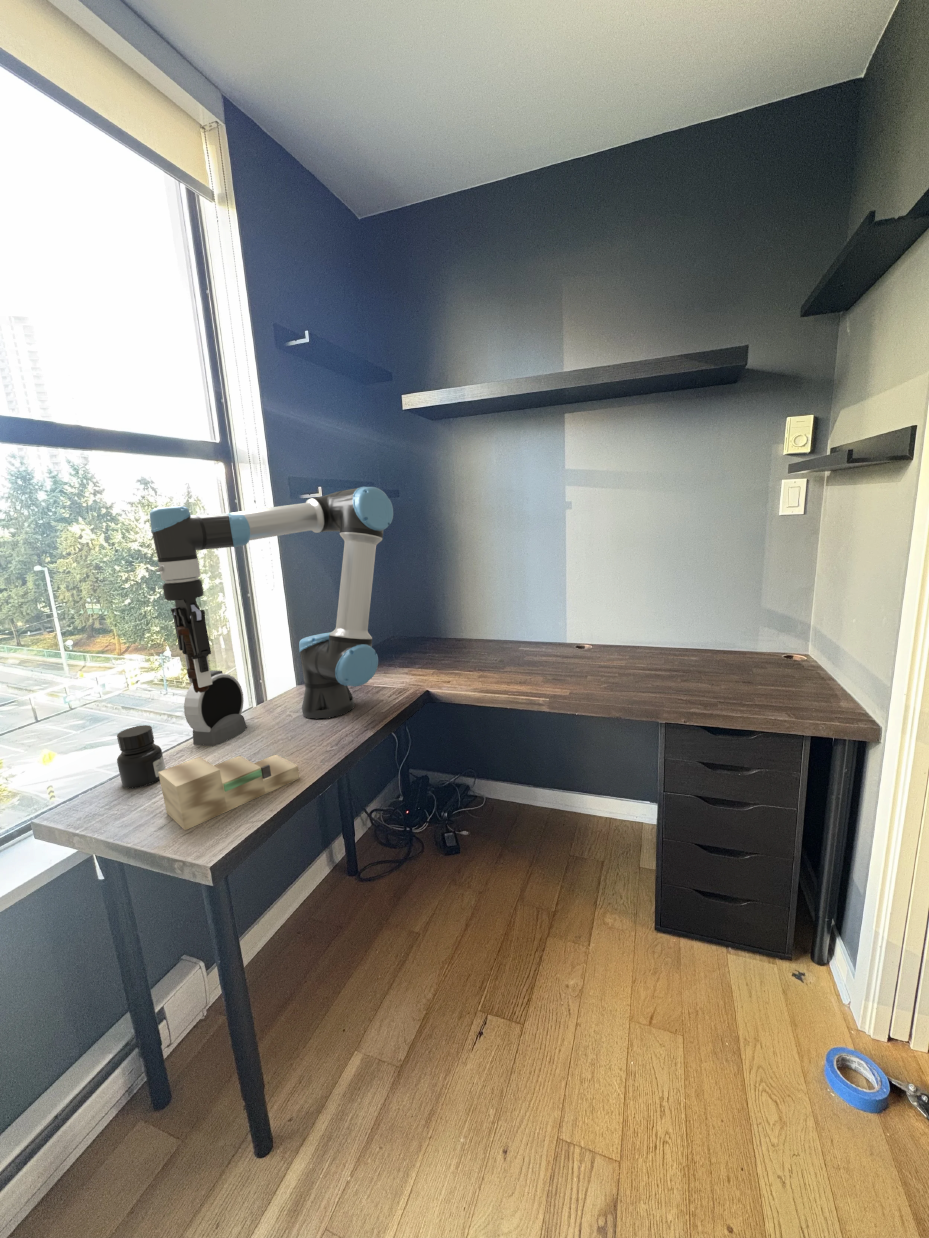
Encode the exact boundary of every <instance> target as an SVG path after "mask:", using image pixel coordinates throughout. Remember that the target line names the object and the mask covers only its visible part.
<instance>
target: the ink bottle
mask: <svg viewBox="0 0 929 1238" xmlns="http://www.w3.org/2000/svg"><path fill="white" fill-rule="evenodd" d="M116 737H117V744H118V747H119V751H120V753H119V755H118V757H117V759H116V762H117V763H116V764H117V767H118V772H119V773H118V774H119V775H120V776H119V777H120V782H121V785H122V786H123V787H124V788H125V789H137V788H142V787H145V786H149V785H152V784H154V783H156V782H158V781H159V782H160V778H159V774H158V772H160V771H162V770H165V769H166V764H165V759H164V755H163V751H162V747H160V745H157V744H156V743H155V736H154V732H153V727H152V725H144V724H143V725H137V726H133V727H129V728H127V729H123V730H121V731H120V732H119V733H117V734H116Z"/></svg>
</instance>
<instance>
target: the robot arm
mask: <svg viewBox="0 0 929 1238" xmlns="http://www.w3.org/2000/svg"><path fill="white" fill-rule="evenodd" d="M393 518H394V507H393V503H392V501H391V499H390V498H389V497H388V495H387V494H386V493H385V492H384V491H383V490H382V489H381V488H378V487H375V486H360V487H357V488H356V487H355V488H351V489H350V488H349V489H344V490H339V491H335V492H333V493H329V494H326V495H323V496H319V497H314V498H313V497H312V498H308V499H307V500H306V501H305V502H303V503H295V504H288V505H286V504H285V505H279V506H272V507H271V506H270V507H265V508H256V509H249V510H242V511H241V510H240V511H235V512H226V513H216V514H215V513H214V514H212V513H211V514H202V515H194V514H193V515H192V514H191V513H190V509H189V508H188V507H187V506H184V505H183V506H181V505H180V506H163V507H162V506H161V507H155V508H152V509H151V510H150V512H149V521H150V522H149V523H150V529H151V530H150V532H151V534H152V539H153V543H154V548H155V552H156V559H157V562H158V567H156V570H157V572H158V573H159V572H160V573H159V574H160V578H161V579H160V580H161V581H163V582H164V583H163V584H162V591H163V595H164V599H165V601H168V602H174V603H175V604H174V607H170V612H171V614H172V618H173V623H174V627H175V632H176V638H177V643H178V650H179V651H180V652H181V651H182V654H183V656H184V660H185V666H186V670H187V669H188V668H190V666H189V663H188V662H189V660H188V657H187V655H188V654H187V651H186V649H187V648H186V647H185V646H186V645H185V642H184V639H183V635H180V636H179V635H178V632H177V627H179V626H180V627H181V626H184V628H188V629H189V637H190V641H191V645H192V648H193V652H194V656H193V657H191V659H192V660H194V666H195V671H196V676H197V682H198V687H199V688H201V687H204V686H208V685H212V679H211V673H210V671H211V669H210V663H209V659H208V657H209V655H211V654H212V650H211V645H210V640H209V635H208V629H207V623H206V611H205V610H204V609H201V608H200V606H199V605H198V603H197V600H196V599H198V598H200V597H203V596H204V595H205V594H204V588H203V582H202V580H201V579H199V577H201V569H200V563H199V558H198V554H197V551H203V550H215V549H217V550H218V549H224V548H225V549H226V548H237V547H241V546H246V545H248V543H249V542H250V541H255V540H261V539H267V538H273V537H278V536H283V535H284V536H285V535H292V534H296V533H297V534H298V533H303V532H310V531H312V532H313V533H315V534H317V533H323V532H324V533H325V532H339V535H340V537H341V538H342V540H343V541H344V543H343V545H344V546H343V554H342V555H343V556H342V565H341V574H340V584H339V593H338V605H337V613H336V622H335V629H333V630H332V631H330V632H325V633H318V634H314V635H310V636H305V637H303V638H302V639H300V640H299V643H298V644H299V647H298V651H299V656H300V662H301V669H302V674H303V675H302V676H303V682H304V693H303V699H302V703H301V705H302V706H301V710H302V711H301V712H302V716H303V717H304V716H305V718H306V717H307V718H306V719H310V718H316V719H315V720H318V719H317V718H326V719H330V718H329V717H332V718H335V717H334V716H336V717H339V716H338V715H340V716H342V715H341V714H343V715H345V714H347V713H349V712H351V711H352V710H353V709H354V708H355V706H354V705H355V700H354V697H353V694H352V692H351V690H350V688H349V686H350V687H360V686H364V685H365V684H367V683H368V682H369V681H370V680H372V678H373V677H374V676H375V674H376V673H377V670H378V667H379V666H378V665H379V657H378V656H379V655H378V654H377V652H376V650H375V649H374V648H373V636H371V634H370V633H369V631H368V630H369V620H370V610H371V600H372V599H371V598H372V590H373V581H374V571H375V563H376V562H375V560H376V552H377V551H376V550H377V549H376V548H377V545H378V544H379V543H381V542H382V541H383V537H384V530H385V529H387V528H388V527H389V526H390V525H391V523H392V522H393ZM188 682H189V684H192V679H190V678H188ZM353 707H354V708H353ZM352 708H353V709H352ZM351 709H352V710H351ZM350 710H351V711H350ZM348 711H349V712H348ZM346 712H347V713H346ZM344 713H345V714H344Z"/></svg>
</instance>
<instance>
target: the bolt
mask: <svg viewBox="0 0 929 1238" xmlns="http://www.w3.org/2000/svg"><path fill="white" fill-rule="evenodd" d="M177 632H178V635H179V636H180V635H183V639H184V642H185V645H186V646H185V647H186V648H187V649H186V651H187V654H188V655H187V657H188V660H189V662H188V663H189V666H190V668H188V669H187V668H186V673H187V676H188V677H187V678H188V679H189V678H190V679H192V683H193V686H194V687H193V689H194V691H195V692H196V693H198V691H199V692H200V693H202V692H205V691H207V690H208V689H209V685H208V686H204V687H201V688H199V687H198V682H197V676H196V671H195V666H194V660H192V659H191V657H193V656H194V652H193V648H192V645H191V641H190V637H189V629H188V628H184V626H181V627H180V626H179V627H177ZM192 683H191V684H192Z"/></svg>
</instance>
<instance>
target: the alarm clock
mask: <svg viewBox="0 0 929 1238" xmlns="http://www.w3.org/2000/svg"><path fill="white" fill-rule="evenodd" d="M210 673H211V679H212V685H209V689H208V690H207V691H205V692H202V693H200V692H199V691H198V693H196V692H195V691H194V689H193V687H194V686H193V683H191V685H190V686H189V688H188V689H187V691H186V694H185V696H184V703H183V713H184V717H185V720H186V723H187V724H188V725H189V727H190V728H191V729H192V743H193V745H194V746H207V747H215V746H216V747H217V746H218V745H220V744H223V743H226V742H228V741H230V740H232V739H234V738H236V737H238V736H240V735H241V734H242V733H243V732H244V731H246V730H247V728H248V727H247V722H246V720H245V716H244V715H242V712H243V709H244V702H245V701H244V700H245V699H244V692H243V689H242V686H241V684H240V682H239V681H238V679H236V677H234V676H232V675H231V674H229V673H223V671H222V670H211V669H210ZM245 729H246V730H245Z"/></svg>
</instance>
